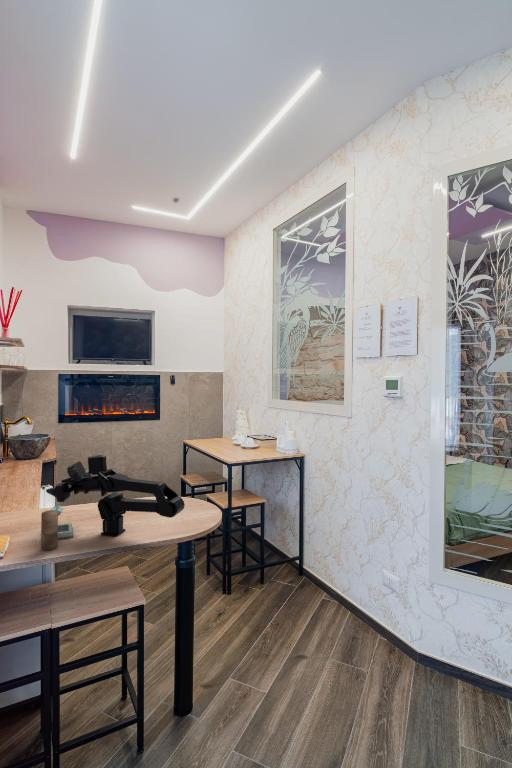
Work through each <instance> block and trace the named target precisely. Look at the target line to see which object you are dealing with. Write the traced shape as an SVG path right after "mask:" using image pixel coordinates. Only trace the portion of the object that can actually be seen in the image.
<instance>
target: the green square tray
mask: <svg viewBox="0 0 512 768" xmlns="http://www.w3.org/2000/svg"><path fill="white" fill-rule="evenodd" d="M73 528H74V527H73V524H72V522H70V523H61V524H59V523H58V540H64V538H65V539H72V538H74V529H73Z"/></svg>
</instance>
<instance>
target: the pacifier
mask: <svg viewBox="0 0 512 768" xmlns="http://www.w3.org/2000/svg"><path fill="white" fill-rule="evenodd" d="M60 504H61V502H57V501H56V503H55V506H53V507H52V508H51V509H50V510H56V511H58V515H59V514H60V513H62V512H63V510H64V507H63V506H62V505H60ZM60 507H63V508H60Z"/></svg>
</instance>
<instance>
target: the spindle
mask: <svg viewBox="0 0 512 768" xmlns="http://www.w3.org/2000/svg"><path fill="white" fill-rule="evenodd" d="M40 515H41V516H40V517H41V519H40V520H41V526H40V527H41V529H40V530H41V531H40V532H41V533H40V550H41V551H42V552H51V551H54V550H57V548H58V540H59V539H58V525H59V514H58V511H56V510H51V509H50V510H45V511H42V512H41V514H40Z"/></svg>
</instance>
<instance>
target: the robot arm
mask: <svg viewBox="0 0 512 768" xmlns="http://www.w3.org/2000/svg"><path fill="white" fill-rule="evenodd" d="M87 463H88V465H87V467H88V468H85V467H84V465H83V463H82V461H80V460H79V461H76V462H74V463H72V464H71V465H69V466H68V467H66V468H67V469H66V470H67V471H66V472H67V475H68V476H69V477H67V478H64V479H61V481H60V483H58V484H56V485H55V486H54V487H48V488H46V490H45V492H46V493H47V494H49V495H50V496H52V497H54V498H56V502H60V503H64V502H66V501H67V500H69V498H70V497H71V493H73V494H74V495H77V494H79V493H83V494H85V495H87V494H88V493H90V492H100V496H101V497H103V498H101V499H99V500H98V502H97V509H98V513H99V515H100V519H101V520H102V532H100V535H101V536H108V537H109V536H111V537H118V536H120V535H121V534H122V533H124V532H125V531H126V528H124V515H125V514H126V512H137V513H141V512H142V513H156V514H158V515H159V516H161V517H165V518H171V519H172V518H174V517H175V516H177V515H178V514H179V513H181V512H182V511H183V510H184V508H185V507H186V506H185V500H184V499H183V498H182V497H181V496H179V494H178V493H177V492H176V491H175V490H173V489H172V488H170V487H169V486H168V485H167V483H165V482H164V481H162V480H161V481H156V480H148V479H147V480H146V479H139V478H131V477H129V476H127V475H125V474H123V473H120V472H117V471H115V470H114V469H113V468H107V467H108V466H107V456H106V455H103V454H96V455H90V456H87ZM125 491H128V492H135V493H142V494H143V493H145V494H150V495H153V496H154V497H155V499H147V498H144V499H143V498H126V497H124V493H123V492H125ZM118 492H119V493H118ZM108 493H110V494H108Z"/></svg>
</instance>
